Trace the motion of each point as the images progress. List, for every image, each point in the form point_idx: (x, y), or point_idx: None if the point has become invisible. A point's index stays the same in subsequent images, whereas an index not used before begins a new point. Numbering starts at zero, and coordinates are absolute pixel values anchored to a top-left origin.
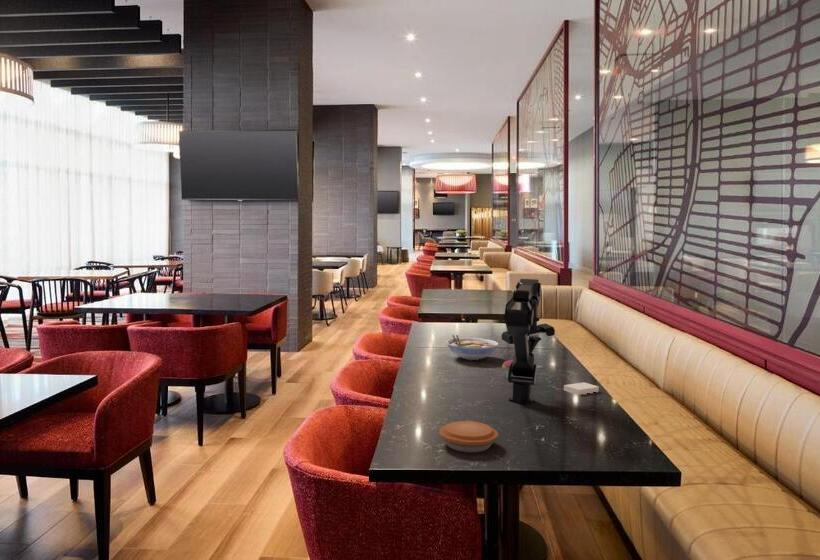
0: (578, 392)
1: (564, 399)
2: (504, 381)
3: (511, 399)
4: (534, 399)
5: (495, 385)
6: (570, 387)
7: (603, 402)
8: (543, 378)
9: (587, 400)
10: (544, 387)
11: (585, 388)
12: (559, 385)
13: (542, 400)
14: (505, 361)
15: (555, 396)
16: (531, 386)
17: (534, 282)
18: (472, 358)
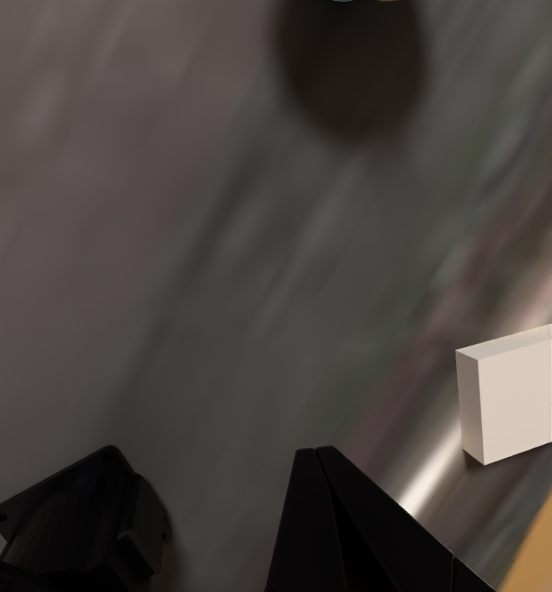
0: (473, 456)
1: None
2: (216, 18)
3: (4, 532)
4: (166, 540)
5: (79, 108)
6: (479, 409)
7: (485, 567)
8: (520, 54)
9: (443, 534)
10: (395, 264)
11: (533, 443)
12: (500, 246)
13: (224, 518)
14: None
15: None
16: (157, 573)
17: None
18: None
